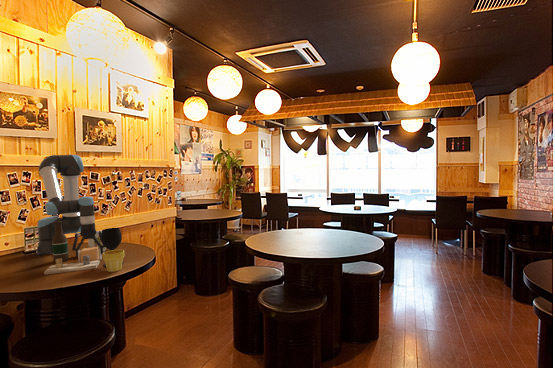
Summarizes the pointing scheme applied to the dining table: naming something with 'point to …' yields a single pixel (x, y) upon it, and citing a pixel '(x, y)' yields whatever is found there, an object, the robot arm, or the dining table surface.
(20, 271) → the dining table surface
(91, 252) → the tan block
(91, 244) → the pitcher
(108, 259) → the plant pot
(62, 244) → the beer bottle
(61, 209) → the robot arm
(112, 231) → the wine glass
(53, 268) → the post board
